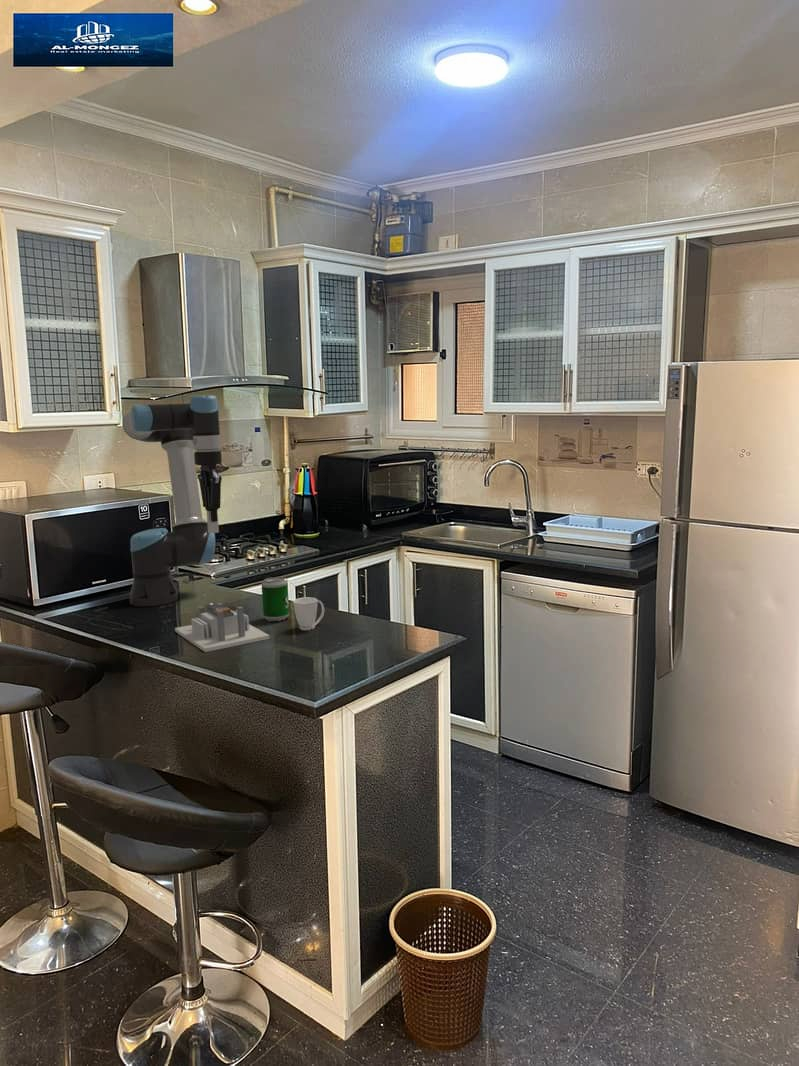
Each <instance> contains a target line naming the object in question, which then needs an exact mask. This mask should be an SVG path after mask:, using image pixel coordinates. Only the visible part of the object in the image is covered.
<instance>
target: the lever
mask: <svg viewBox="0 0 799 1066" xmlns="http://www.w3.org/2000/svg"><path fill="white" fill-rule="evenodd" d="M204 609H207V610H209V612H214V613H216V614H217V611H218V610H222V611H223V615H224V617H230V616H234V613H233V612H231V608H229V607H227V606H225V607H224V606H223V607H222V606H220V605H218V603H216V602H211V603H206V604H204Z"/></svg>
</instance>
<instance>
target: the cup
mask: <svg viewBox="0 0 799 1066" xmlns="http://www.w3.org/2000/svg"><path fill="white" fill-rule="evenodd" d="M318 603H319V604H320V607H321V613H320V616H319V617H318V618H317V614H318V613H317V611H318ZM292 605H293V609H294V614H295V618H296V622H297V624H298V625H299V627H298V629H299V628H300V629H301V631H311V629H312V630H314V629H315V627H316V626H317V625H318V624H320V623H319V622H321V620H322V619H323V617H324V615H325V606H324V603H323V602H322V601H321V600H319V599H317V598H316V597H299V598H298V597H297V598H296V599H293V600H292ZM316 619H317V620H316ZM300 629H299V630H300Z"/></svg>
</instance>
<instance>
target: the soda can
mask: <svg viewBox="0 0 799 1066" xmlns="http://www.w3.org/2000/svg"><path fill="white" fill-rule="evenodd" d="M261 596H262V597H261V598H262V600H261V601H262V613H263V616H262V617H263V618H264V619H265V620H266V621H267V620H268V621H267V622H270V621H279V622H282V621H281V620H283V621H286V620H287V619H286V618H289V616H290V604H289V601H290V600H289V586H288V580H287V579H285V578H284V577H282V576H281V577H280V576H275V577H274V576H273V577H267V578H265V579H264V580H263V582H261ZM285 619H286V620H285Z"/></svg>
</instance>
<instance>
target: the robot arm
mask: <svg viewBox="0 0 799 1066" xmlns="http://www.w3.org/2000/svg"><path fill="white" fill-rule="evenodd" d="M189 401H190V402H189V403H188V402H187V403H159V404H156V403H154V404H151V403H150V404H146V403H143V404H136V405H133V406H132V407H131V410H129V411H128V412H127V413H126V414H125V415H124V416H123V419H122V427H123V431H124V432H125V434H126V435H127V436H128V437H129V438H131V439H133V440H137V441H140V442H144V443H160V446H161V448H162V450H164V451H165V452H166V453H167V454H166V455H167V460H168V461H167V463H168V470H169V477H170V485H171V492H172V501H173V507H174V516H175V517H174V518H175V523H174V524H173V525H172V526H171V527H172V528H171V530H172V531H168V530H167V528H165V527H158V528H151V529H146V530H142V531H139V532H137V533H135V534H133V535H132V536H131V537H130V548H129V550H130V553H131V564H132V576H133V577H132V578H133V581H132V585H131V589H130V593H129V604H130V605H132V606H135V607H156V606H163V605H166V604H167V605H168V604H171V603H173V602H176V601H177V600H178V599H179V595H178V590H177V587H176V585H175V583H174V580H173V579H172V576H171V568H178V567H186V566H195V565H197V566H199V565H201V564H208V563H210V562H212V560H213V559H214V556H215V551H216V550H215V549H216V534H217V533H220V530H219V529H220V527H219V516H218V511H219V509H221V497H222V496H221V495H222V492H221V491H222V489H221V486H222V479H223V477H222V475H219V471H218V468H217V465H221V464H222V463H223V459H222V451H221V450H220V449H222V442H221V441H222V440H221V432H220V416H219V414H220V413H219V409H220V408H219V403H218V398H217V397H216V395H212V394H211V395H210V394H208V395H207V394H206V395H204V394H203V395H192V396H191V397H190V399H189ZM194 450H195V451H194ZM196 466H200V473H198V474H197V468H196ZM198 482H199V483H198ZM199 489H200V490H199ZM200 494H201V498H200ZM201 502H202V503H201ZM201 504H202V505H201ZM202 507H203V508H205V511H206V519H204V518H203V513H202Z"/></svg>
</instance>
